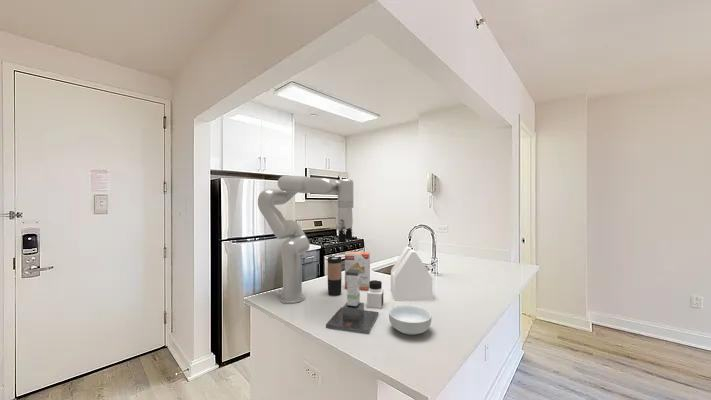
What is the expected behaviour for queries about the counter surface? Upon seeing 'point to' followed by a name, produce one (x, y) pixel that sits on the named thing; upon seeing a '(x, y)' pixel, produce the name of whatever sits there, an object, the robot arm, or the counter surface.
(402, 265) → the white house-shaped block
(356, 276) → the column
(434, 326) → the counter surface
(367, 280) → the cracker box
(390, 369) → the counter surface
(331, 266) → the travel mug
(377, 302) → the medicine bottle
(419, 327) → the cereal bowl
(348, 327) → the stand base
